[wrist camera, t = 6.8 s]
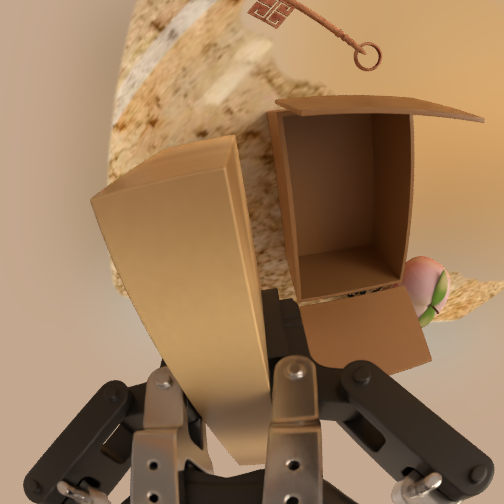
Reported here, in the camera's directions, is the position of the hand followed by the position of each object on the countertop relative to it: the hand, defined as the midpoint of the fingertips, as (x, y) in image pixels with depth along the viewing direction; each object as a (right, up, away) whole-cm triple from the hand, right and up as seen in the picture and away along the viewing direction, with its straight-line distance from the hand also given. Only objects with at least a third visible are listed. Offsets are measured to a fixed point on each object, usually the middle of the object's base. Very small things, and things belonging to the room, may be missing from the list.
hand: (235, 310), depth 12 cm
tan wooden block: (0, 0, 0) cm, 0 cm away
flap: (+11, -5, +12) cm, 17 cm away
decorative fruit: (+23, 0, +24) cm, 34 cm away
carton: (+9, +10, +18) cm, 23 cm away
